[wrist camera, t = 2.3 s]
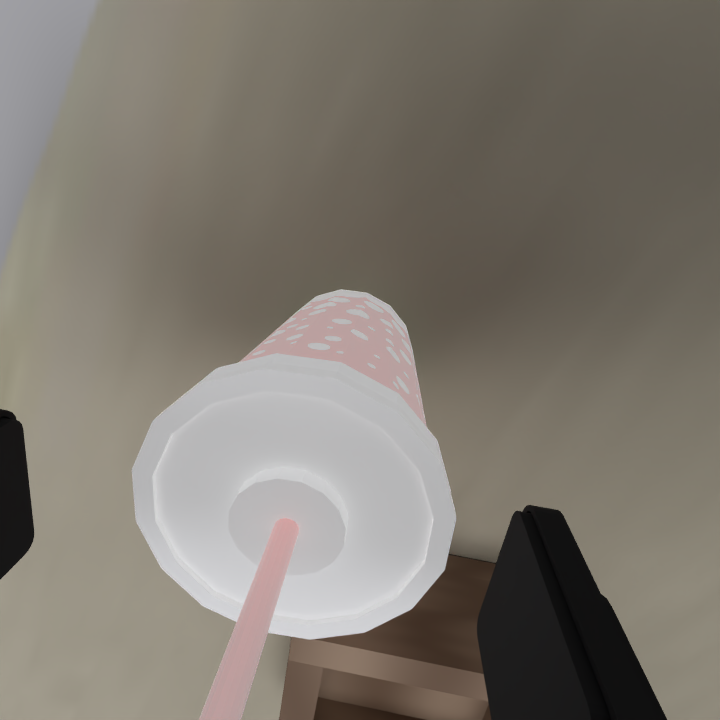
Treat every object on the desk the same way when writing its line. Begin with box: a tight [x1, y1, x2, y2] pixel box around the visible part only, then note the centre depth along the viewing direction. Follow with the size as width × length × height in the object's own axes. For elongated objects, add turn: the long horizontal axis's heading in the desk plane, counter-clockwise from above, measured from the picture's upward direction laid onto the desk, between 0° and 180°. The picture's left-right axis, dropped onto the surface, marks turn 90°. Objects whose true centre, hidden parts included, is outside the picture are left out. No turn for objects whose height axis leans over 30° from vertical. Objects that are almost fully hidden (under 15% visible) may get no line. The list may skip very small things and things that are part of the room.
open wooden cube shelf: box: [279, 555, 496, 720], centre depth 20 cm, size 10×10×5 cm
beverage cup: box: [132, 289, 456, 720], centre depth 11 cm, size 6×6×14 cm
